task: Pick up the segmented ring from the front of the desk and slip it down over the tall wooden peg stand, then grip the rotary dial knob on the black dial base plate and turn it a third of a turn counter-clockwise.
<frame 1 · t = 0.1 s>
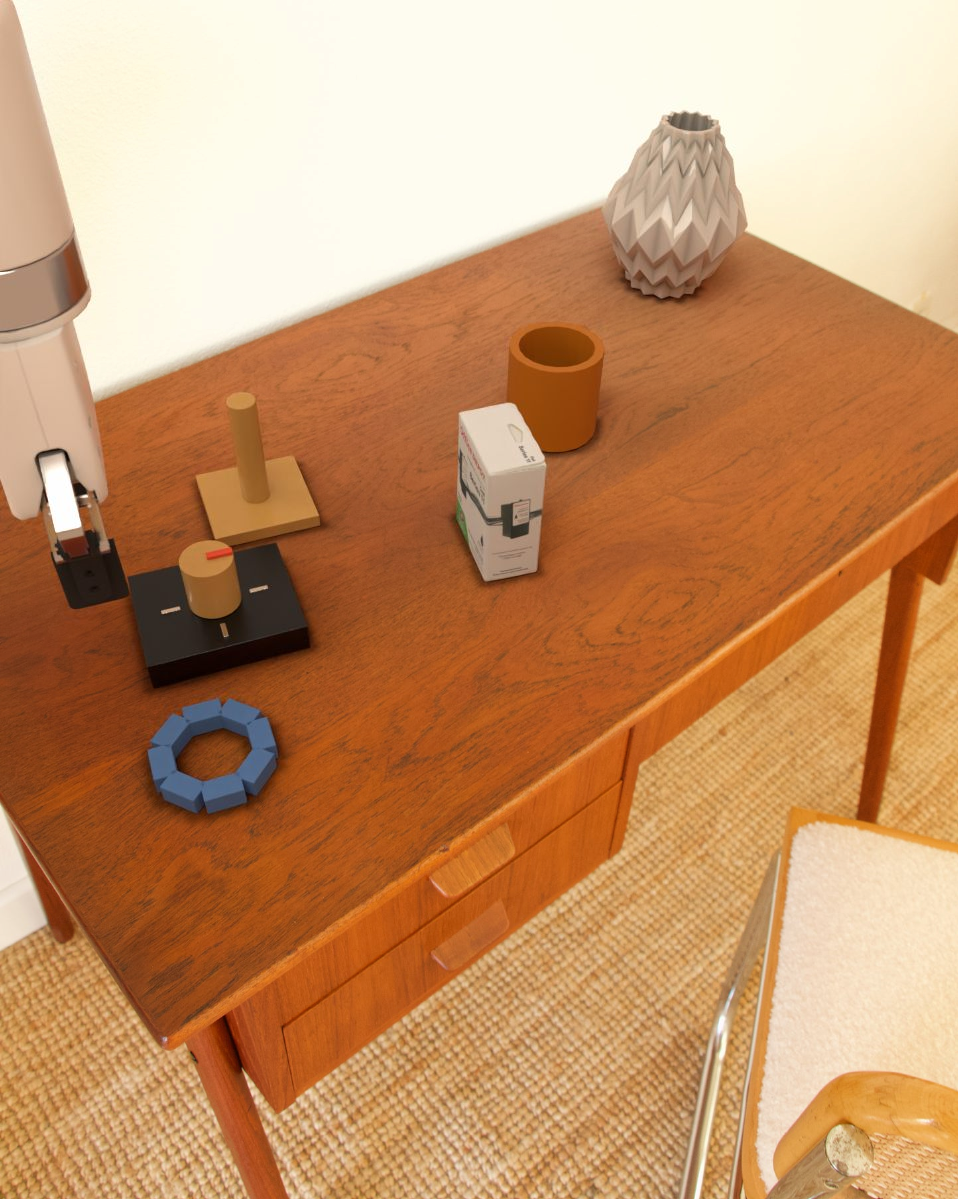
hand: (89, 544, 60), 19 cm above the table, tool pointing down, fingers open, 9 cm apart
black dial base plate: (220, 622, 81), on the table
mug: (559, 420, 101), on the table
rotary dial knob: (210, 578, 77), point 5 cm above the table, hinge at 0.0°
ink box: (495, 547, 88), on the table
wooden peg stand: (257, 505, 91), on the table
segmented ring: (215, 760, 72), on the table
vase: (661, 283, 121), on the table
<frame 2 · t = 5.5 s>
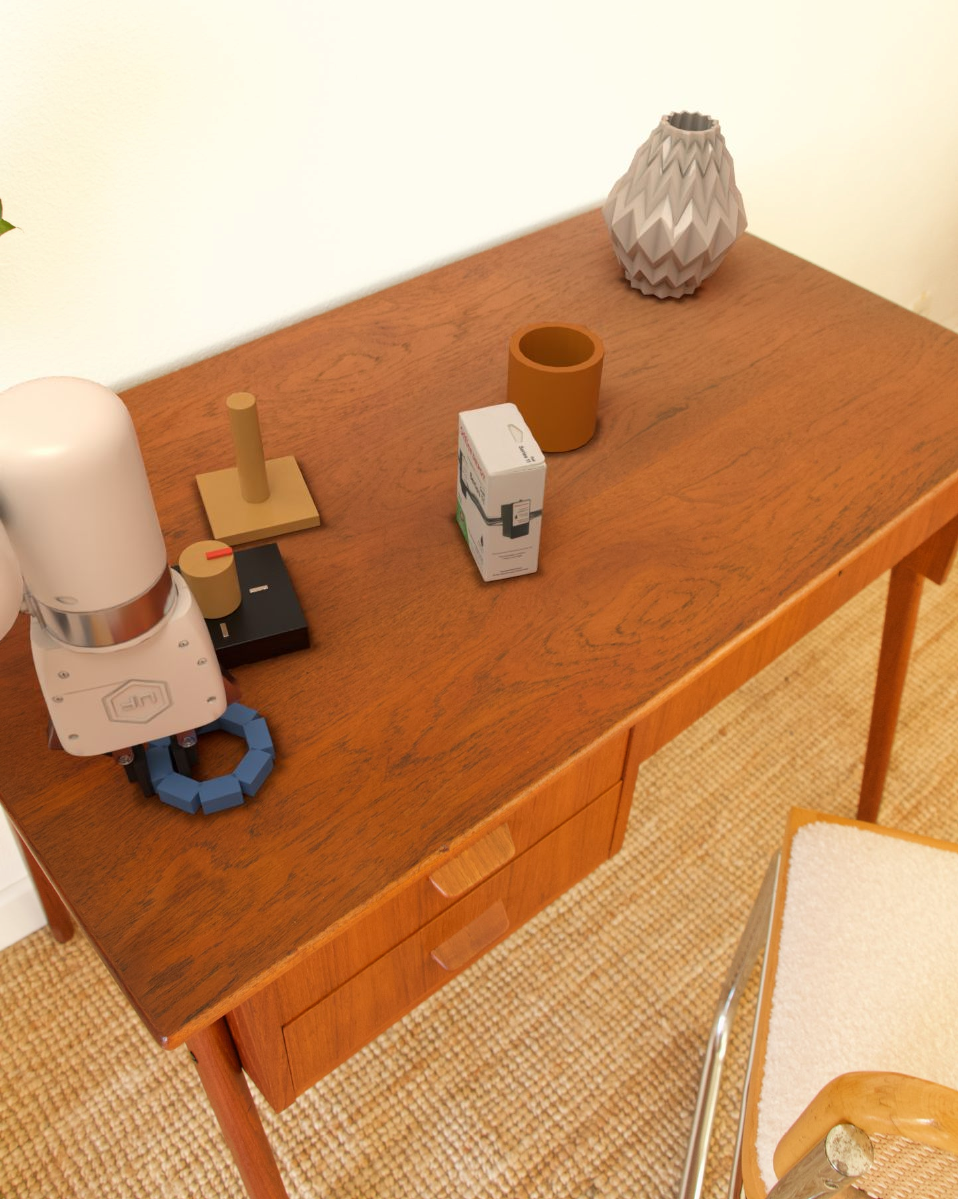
hand: (165, 773, 71), 0 cm above the table, tool pointing down, fingers closed on segmented ring, 2 cm apart
segmented ring: (212, 761, 72), on the table, touching gripper
everything else where it was.
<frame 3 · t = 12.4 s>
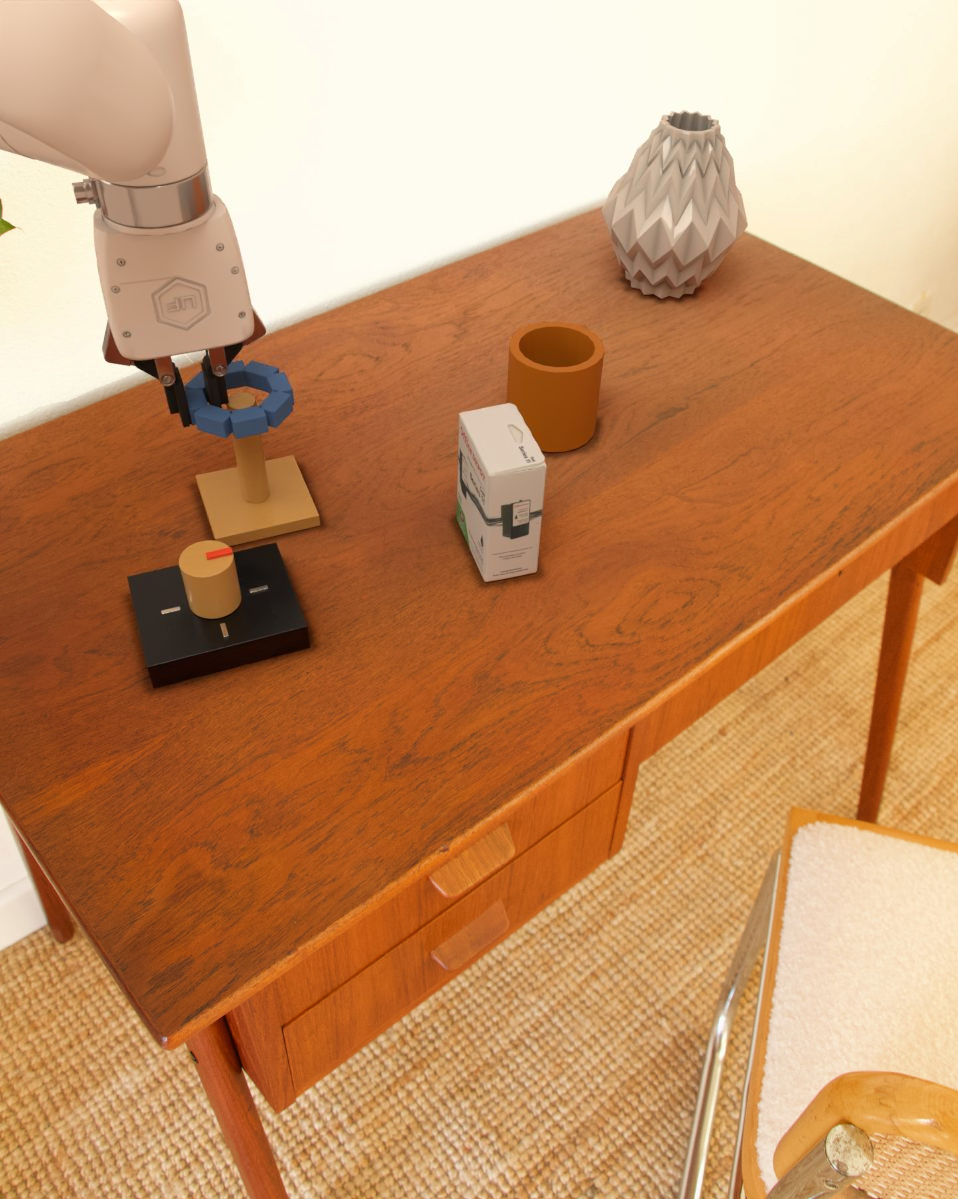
hand: (200, 412, 82), 11 cm above the table, tool pointing down, fingers closed on segmented ring
segmented ring: (240, 406, 83), point 11 cm above the table, touching gripper
everything else where it was.
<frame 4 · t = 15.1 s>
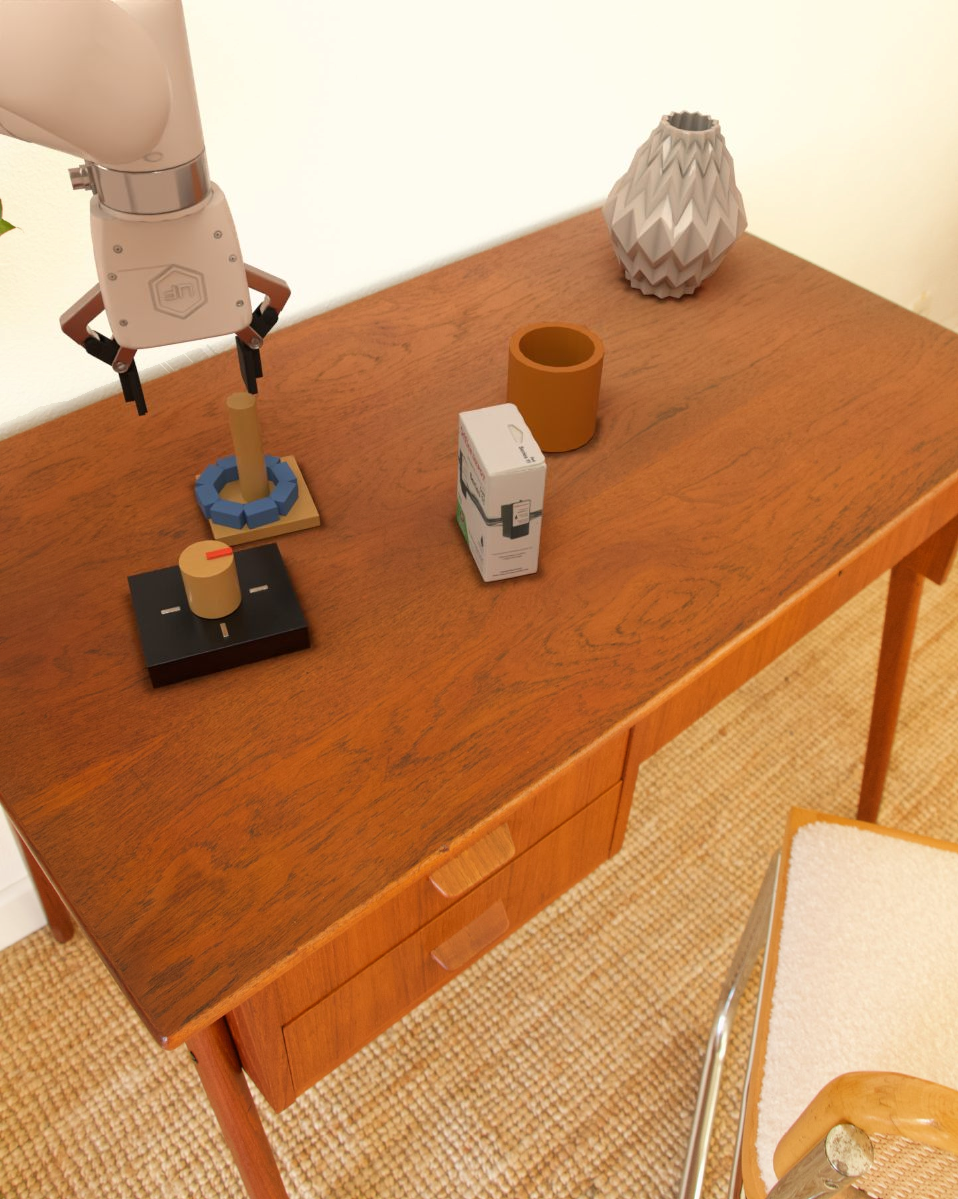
hand: (195, 394, 81), 12 cm above the table, tool pointing down, fingers open, 8 cm apart
segmented ring: (248, 496, 90), point 1 cm above the table, touching wooden peg stand
everything else where it was.
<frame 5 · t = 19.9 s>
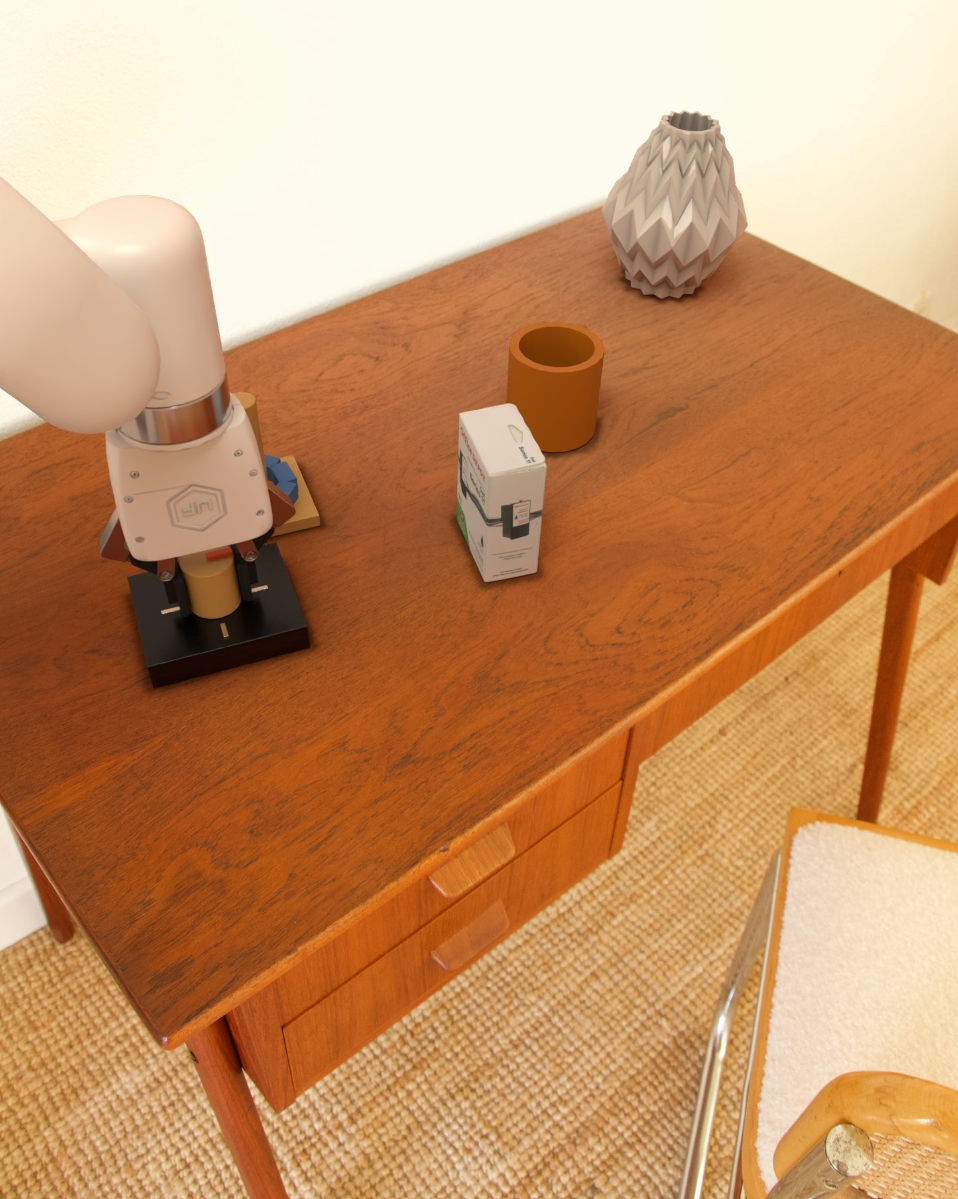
hand: (214, 595, 79), 3 cm above the table, tool pointing down, fingers closed on rotary dial knob, 4 cm apart
rotary dial knob: (210, 578, 77), point 5 cm above the table, hinge at -0.1°, touching gripper
everything else where it was.
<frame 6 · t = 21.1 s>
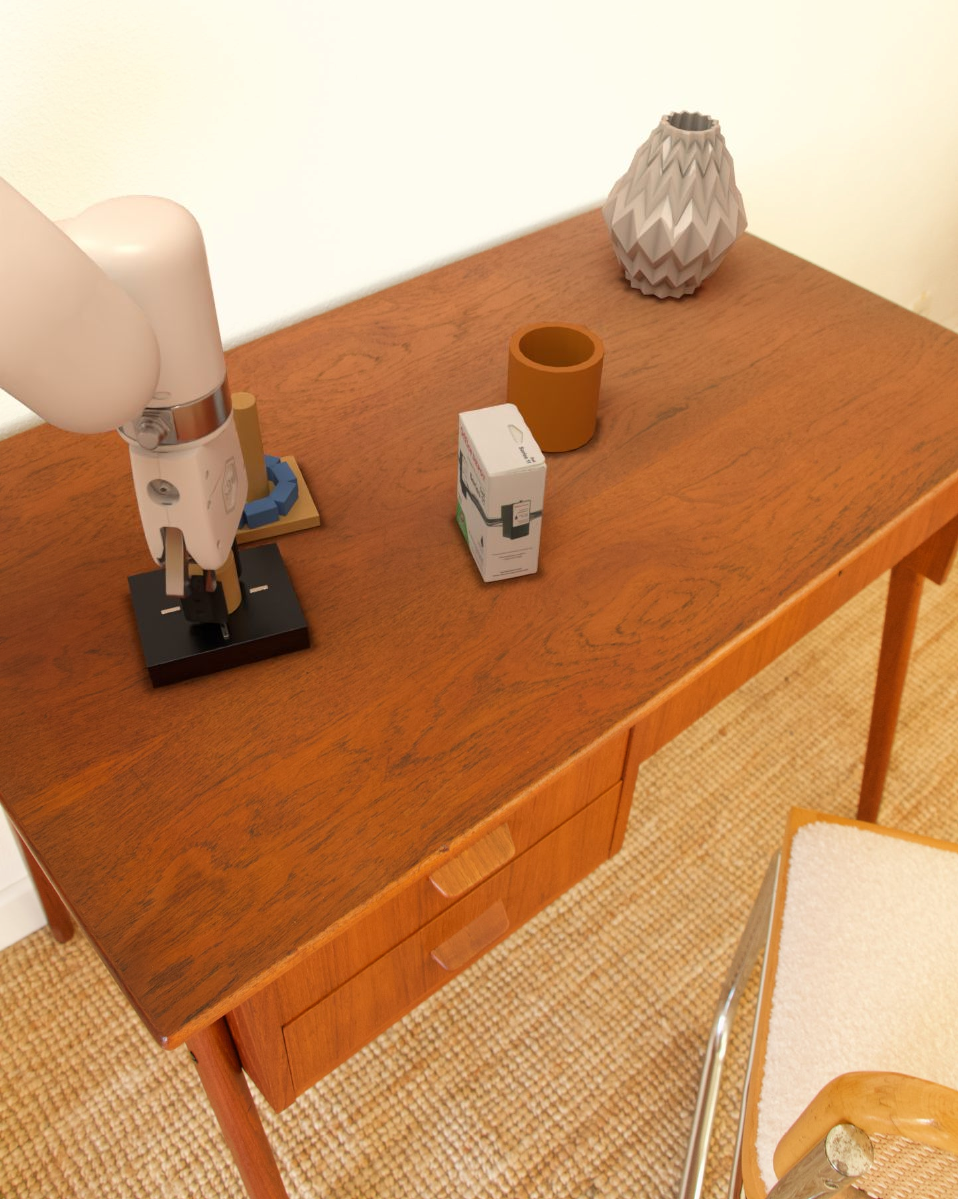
hand: (214, 595, 79), 3 cm above the table, tool pointing down, fingers closed on rotary dial knob, 4 cm apart
rotary dial knob: (210, 578, 77), point 5 cm above the table, hinge at 65.1°, touching gripper
everything else where it was.
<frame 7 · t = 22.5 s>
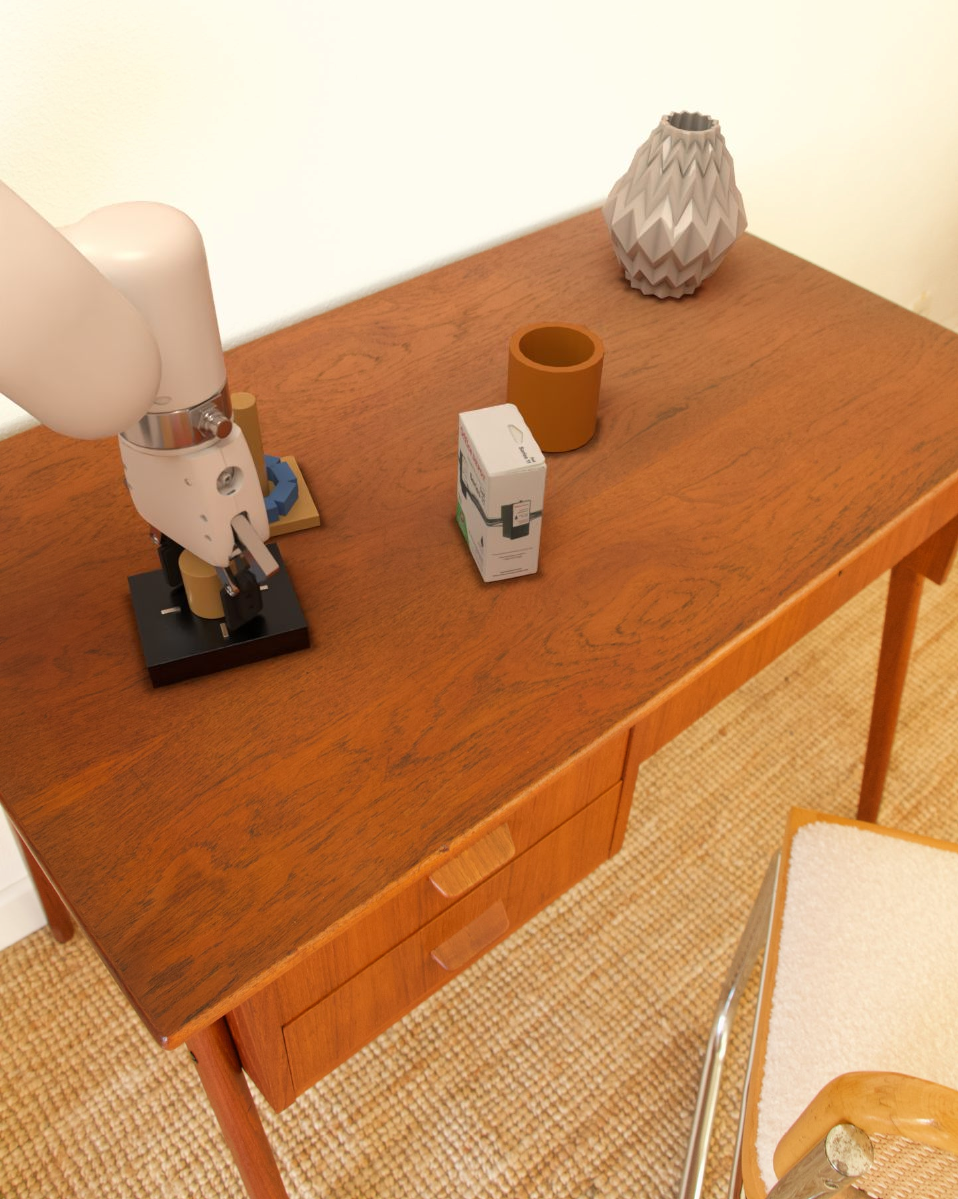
hand: (214, 595, 79), 3 cm above the table, tool pointing down, fingers open, 6 cm apart
rotary dial knob: (210, 578, 77), point 5 cm above the table, hinge at 119.7°
everything else where it was.
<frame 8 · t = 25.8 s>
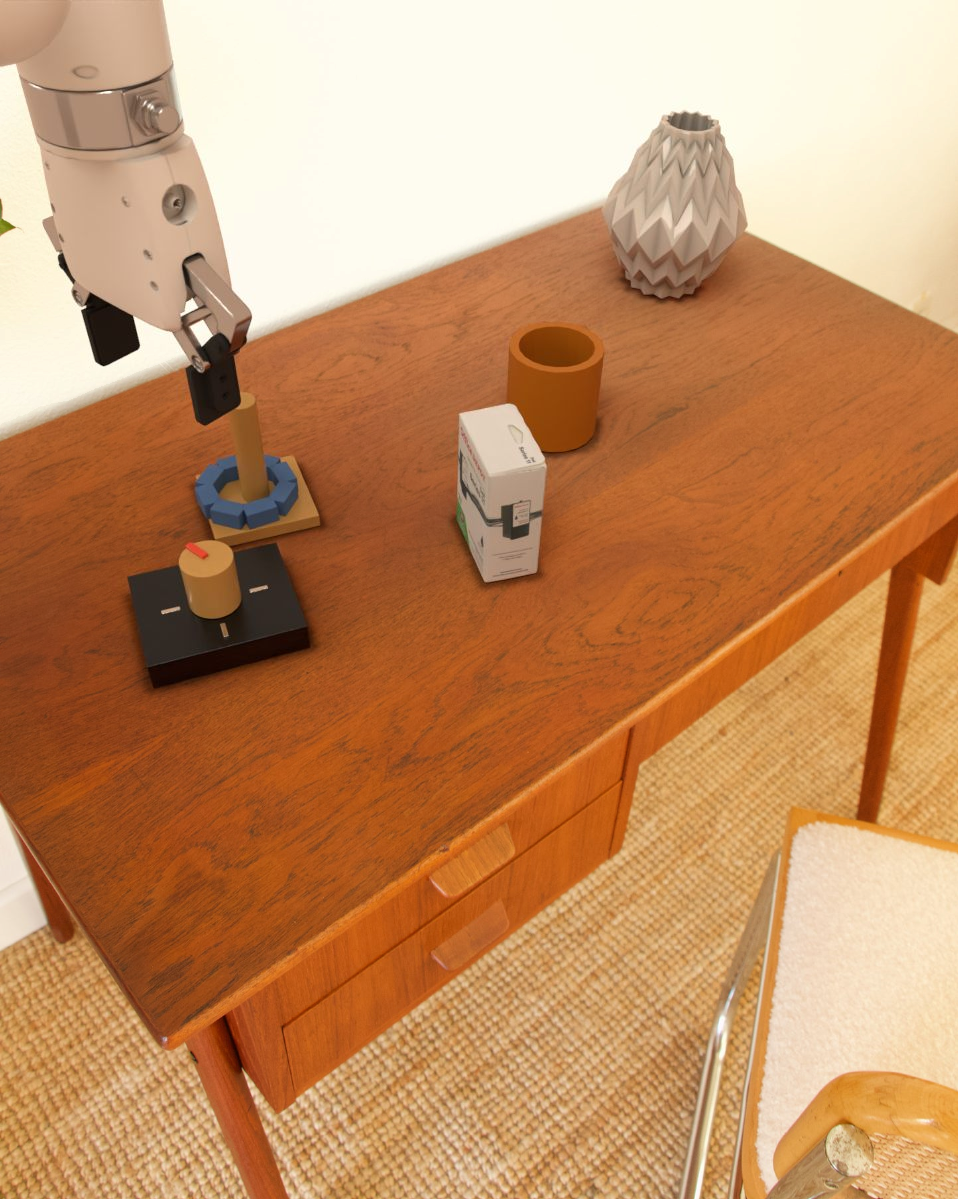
hand: (167, 384, 65), 22 cm above the table, tool pointing down, fingers open, 9 cm apart
nothing on the table moved.
at the end: segmented ring 0.7 cm off-centre on the wooden peg stand, point 1.2 cm above the wooden peg stand's base; rotary dial knob at +120° (first picture: +0°) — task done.
